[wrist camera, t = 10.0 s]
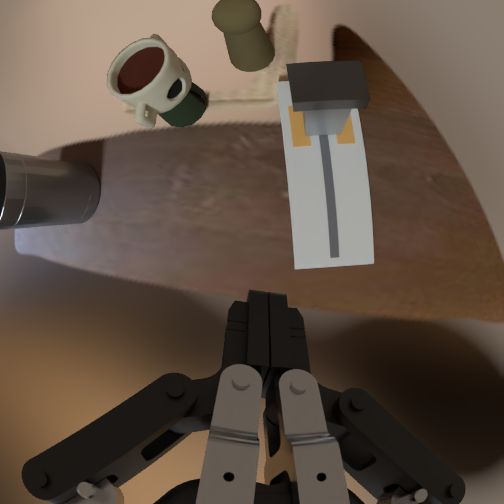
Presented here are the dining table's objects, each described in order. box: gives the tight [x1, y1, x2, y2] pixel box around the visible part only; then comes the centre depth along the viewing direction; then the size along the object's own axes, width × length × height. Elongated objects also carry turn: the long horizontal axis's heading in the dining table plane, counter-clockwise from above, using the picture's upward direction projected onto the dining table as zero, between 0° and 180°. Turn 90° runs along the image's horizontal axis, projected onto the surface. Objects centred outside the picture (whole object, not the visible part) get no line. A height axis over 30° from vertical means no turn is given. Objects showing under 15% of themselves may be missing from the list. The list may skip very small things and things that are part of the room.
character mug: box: [107, 34, 207, 129], centre depth 28 cm, size 11×7×13 cm, turn 177°
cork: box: [212, 0, 275, 72], centre depth 26 cm, size 6×6×11 cm
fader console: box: [276, 81, 374, 269], centre depth 31 cm, size 22×9×2 cm, turn 5°
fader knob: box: [286, 61, 370, 136], centre depth 24 cm, size 4×6×11 cm, turn 95°
